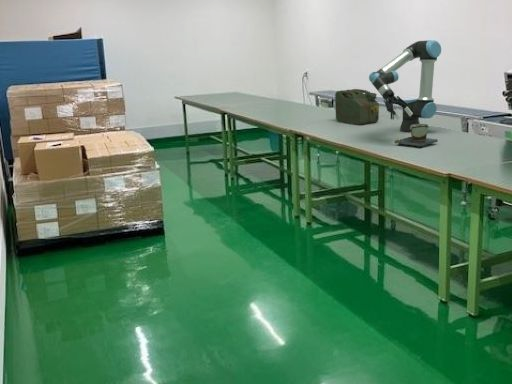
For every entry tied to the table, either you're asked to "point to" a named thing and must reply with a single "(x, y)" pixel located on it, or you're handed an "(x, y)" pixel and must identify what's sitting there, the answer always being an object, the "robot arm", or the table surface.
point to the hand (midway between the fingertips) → (405, 116)
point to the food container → (419, 132)
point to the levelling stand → (415, 142)
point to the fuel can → (356, 107)
